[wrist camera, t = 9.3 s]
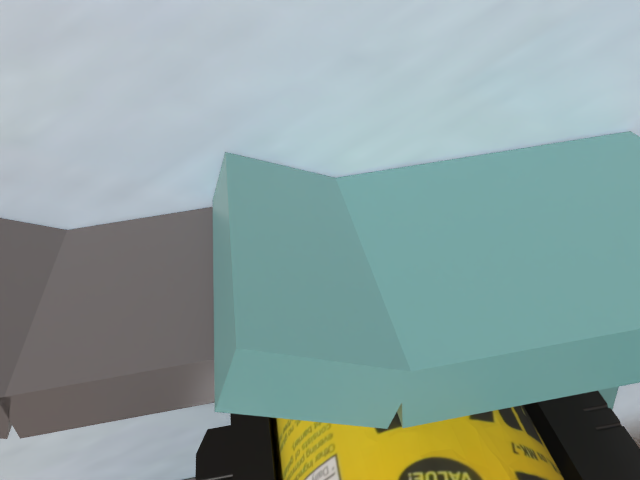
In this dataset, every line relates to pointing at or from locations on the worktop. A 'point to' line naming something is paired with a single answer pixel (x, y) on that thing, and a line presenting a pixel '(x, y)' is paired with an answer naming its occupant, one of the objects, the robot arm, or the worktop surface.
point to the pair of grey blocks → (105, 321)
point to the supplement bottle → (416, 449)
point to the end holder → (427, 284)
